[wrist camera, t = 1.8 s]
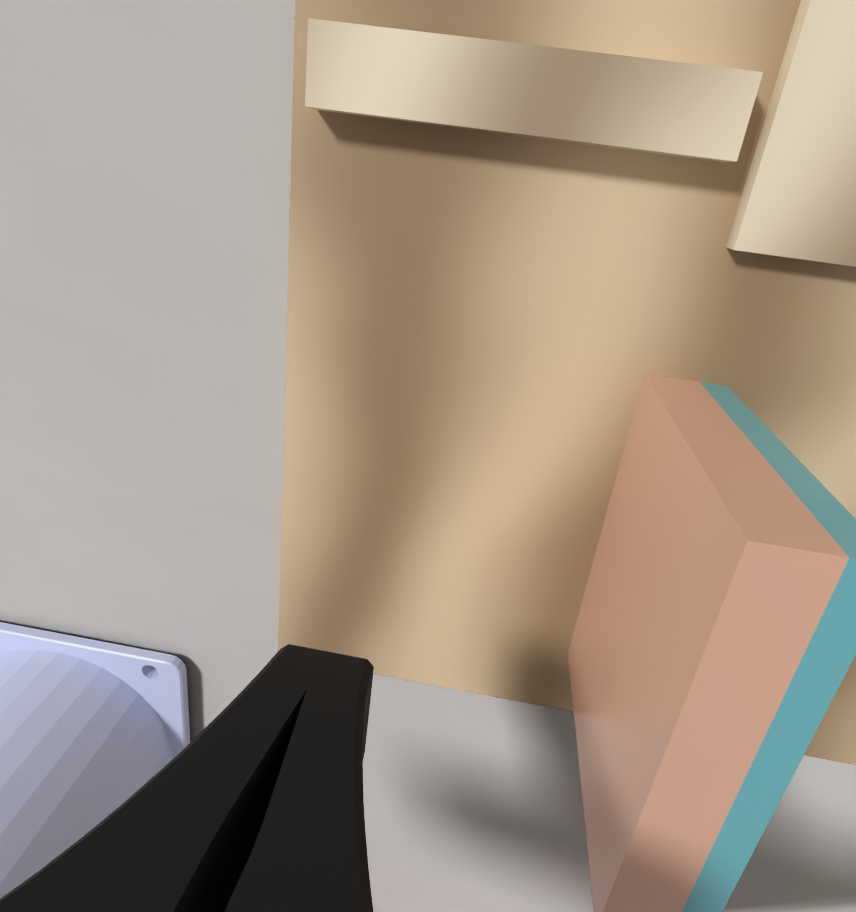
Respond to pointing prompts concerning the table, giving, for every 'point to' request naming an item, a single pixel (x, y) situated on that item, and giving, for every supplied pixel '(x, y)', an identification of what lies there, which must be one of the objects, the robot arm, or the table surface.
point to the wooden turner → (632, 111)
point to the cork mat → (523, 349)
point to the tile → (703, 647)
